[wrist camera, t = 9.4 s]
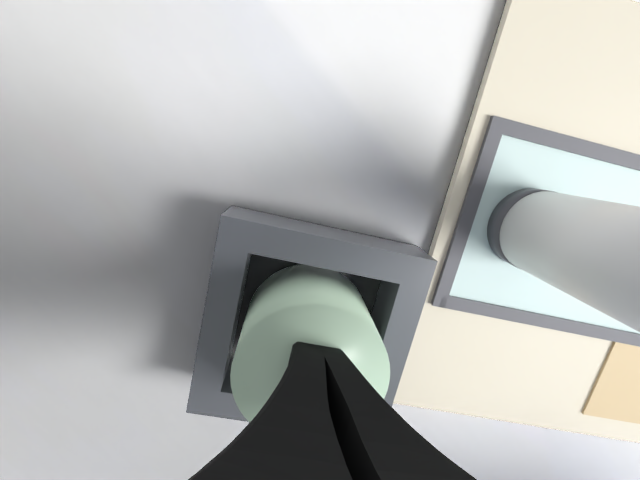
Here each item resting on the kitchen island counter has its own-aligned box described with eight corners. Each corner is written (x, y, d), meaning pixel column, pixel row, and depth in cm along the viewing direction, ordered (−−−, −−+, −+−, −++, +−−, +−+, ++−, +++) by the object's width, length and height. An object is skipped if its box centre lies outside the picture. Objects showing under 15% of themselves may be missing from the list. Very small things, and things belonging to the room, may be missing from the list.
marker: (546, 271, 14) (870, 429, 6) (475, 257, 13) (723, 405, 6) (574, 196, 13) (979, 265, 5) (501, 179, 13) (820, 227, 5)
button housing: (369, 404, 15) (380, 441, 13) (200, 377, 14) (186, 412, 12) (417, 245, 14) (437, 261, 12) (231, 205, 13) (221, 215, 11)
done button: (349, 382, 14) (367, 455, 11) (236, 363, 14) (217, 433, 10) (379, 277, 13) (409, 320, 10) (259, 252, 13) (246, 289, 9)
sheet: (671, 442, 17) (685, 453, 16) (384, 395, 15) (387, 405, 15) (860, 82, 13) (885, 79, 13) (515, -30, 12) (527, -39, 11)
